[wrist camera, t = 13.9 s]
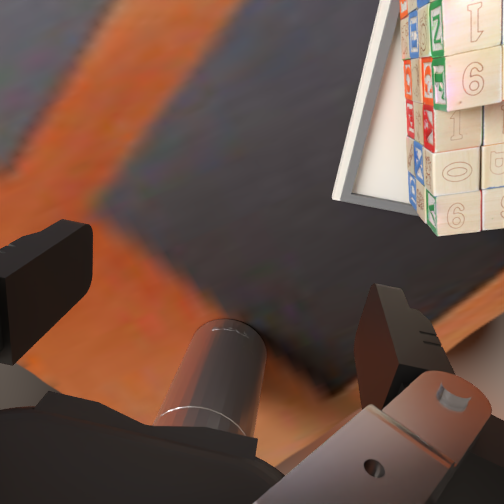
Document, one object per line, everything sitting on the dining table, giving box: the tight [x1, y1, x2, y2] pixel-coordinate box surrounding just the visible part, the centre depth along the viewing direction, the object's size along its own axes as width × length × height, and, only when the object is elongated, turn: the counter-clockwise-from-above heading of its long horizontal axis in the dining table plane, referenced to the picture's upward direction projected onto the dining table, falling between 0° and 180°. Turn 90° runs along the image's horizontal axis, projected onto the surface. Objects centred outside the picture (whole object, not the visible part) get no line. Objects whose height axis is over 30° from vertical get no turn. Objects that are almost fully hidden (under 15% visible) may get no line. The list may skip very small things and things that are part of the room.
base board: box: [332, 0, 419, 216], centre depth 36 cm, size 26×12×2 cm, turn 171°
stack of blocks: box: [399, 0, 504, 236], centre depth 29 cm, size 21×6×12 cm, turn 10°
